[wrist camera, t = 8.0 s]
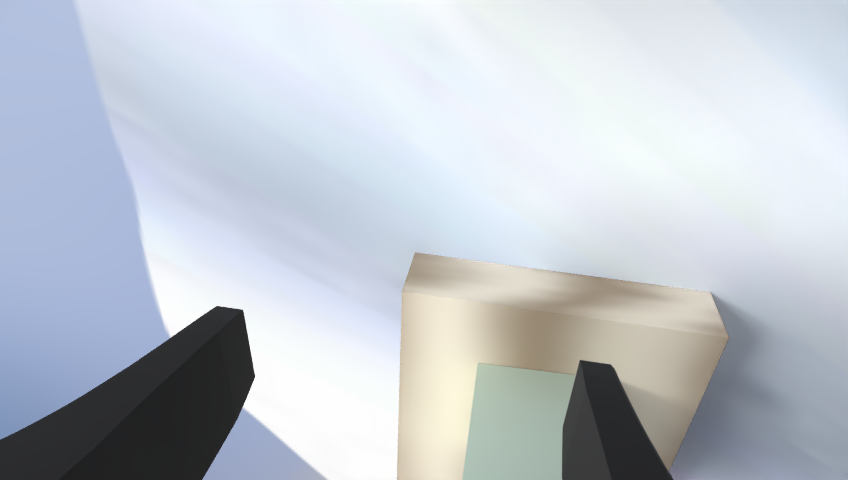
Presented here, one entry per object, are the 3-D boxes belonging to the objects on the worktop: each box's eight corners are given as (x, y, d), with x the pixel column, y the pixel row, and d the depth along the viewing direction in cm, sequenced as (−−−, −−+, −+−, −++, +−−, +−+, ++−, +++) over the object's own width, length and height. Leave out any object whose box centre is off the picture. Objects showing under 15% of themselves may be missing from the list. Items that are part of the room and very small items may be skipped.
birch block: (706, 283, 21) (729, 337, 19) (634, 466, 27) (644, 525, 24) (417, 245, 22) (402, 291, 20) (409, 428, 28) (396, 480, 26)
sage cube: (616, 380, 20) (635, 508, 16) (593, 466, 23) (605, 596, 19) (477, 363, 21) (462, 481, 17) (471, 448, 24) (457, 569, 20)
